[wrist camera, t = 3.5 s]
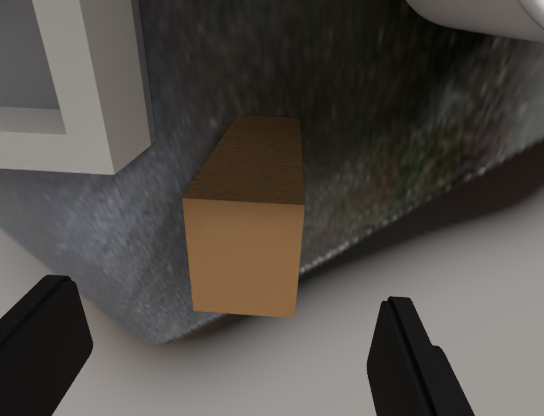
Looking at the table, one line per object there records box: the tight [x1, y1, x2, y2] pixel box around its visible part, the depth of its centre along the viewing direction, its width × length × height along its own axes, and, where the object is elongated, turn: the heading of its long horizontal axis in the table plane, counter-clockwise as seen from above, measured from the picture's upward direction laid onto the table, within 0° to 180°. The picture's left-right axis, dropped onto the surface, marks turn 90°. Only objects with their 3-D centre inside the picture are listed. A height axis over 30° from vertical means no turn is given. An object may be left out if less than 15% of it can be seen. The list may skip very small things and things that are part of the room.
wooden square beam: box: [182, 115, 305, 318], centre depth 17 cm, size 4×5×12 cm
